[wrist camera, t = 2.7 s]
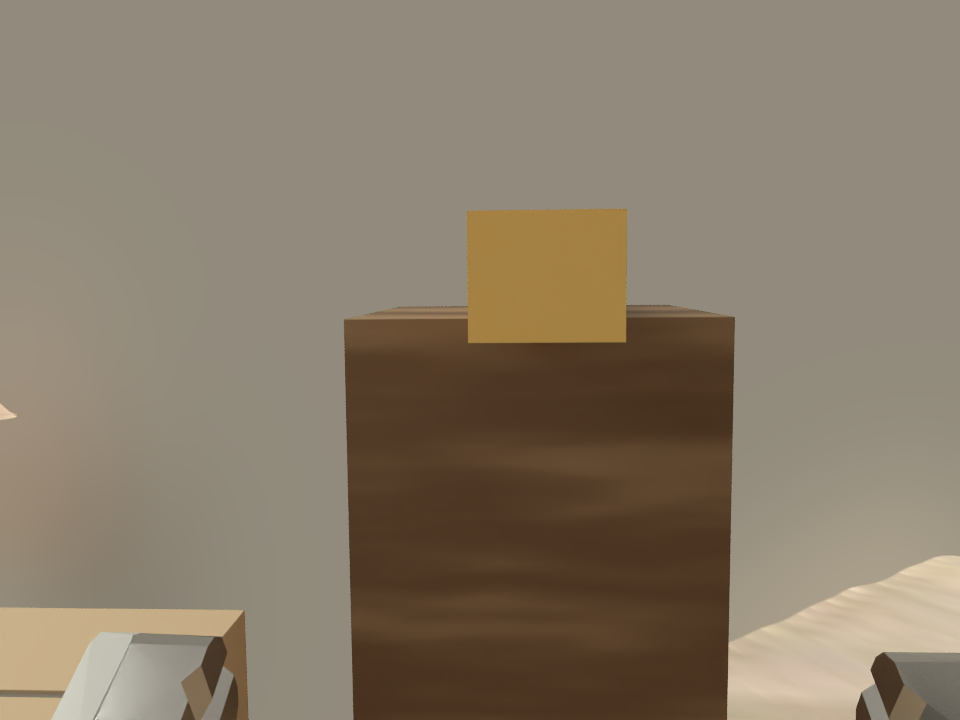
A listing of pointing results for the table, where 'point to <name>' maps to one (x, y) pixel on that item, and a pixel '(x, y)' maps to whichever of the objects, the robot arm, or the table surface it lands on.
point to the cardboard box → (66, 635)
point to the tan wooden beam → (547, 276)
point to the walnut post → (539, 519)
